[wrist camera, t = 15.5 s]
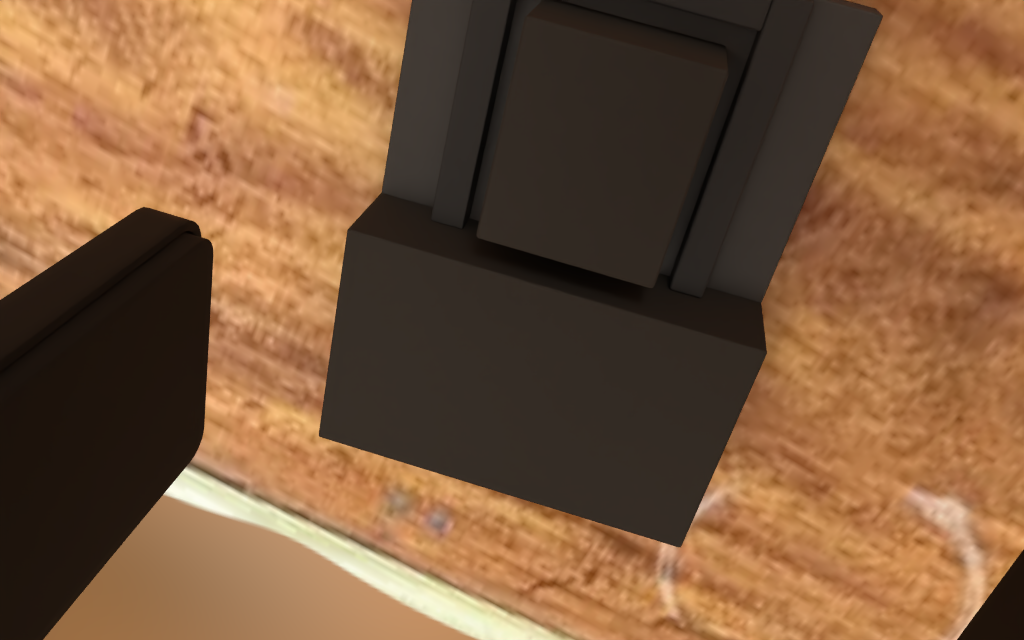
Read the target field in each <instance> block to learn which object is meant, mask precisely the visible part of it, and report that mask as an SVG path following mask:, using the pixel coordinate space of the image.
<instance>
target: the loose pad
mask: <svg viewBox="0 0 1024 640" xmlns="http://www.w3.org/2000/svg"><path fill="white" fill-rule="evenodd" d="M727 77H728V63H727V52H726V47H725V46H724V45H721V44H717V43H714V42H710V41H706V40H703V39H699V38H695V37H692V36H688V35H684V34H681V33H677V32H674V31H670V30H666V29H663V28H659V27H655V26H652V25H648V24H644V23H641V22H637V21H633V20H630V19H626V18H622V17H619V16H615V15H611V14H608V13H604V12H601V11H597V10H593V9H590V8H586V7H582V6H579V5H575V4H571V3H568V2H564V1H560V0H542V1H541V2H540V3H539V4H538V5H537V6H536V7H535V8H534V9H533V10H532V11H531V12H530V13H529V14H528V15H527V16H526V17H525V19H524V23H523V28H522V32H521V37H520V41H519V46H518V50H517V55H516V59H515V64H514V68H513V73H512V77H511V81H510V86H509V90H508V95H507V99H506V104H505V108H504V113H503V117H502V122H501V126H500V131H499V135H498V140H497V144H496V149H495V153H494V158H493V162H492V166H491V171H490V175H489V180H488V184H487V189H486V193H485V198H484V202H483V207H482V211H481V216H480V220H479V225H478V229H477V237H478V238H479V239H483V240H486V241H490V242H493V243H497V244H500V245H503V246H507V247H510V248H514V249H517V250H521V251H524V252H528V253H531V254H534V255H538V256H541V257H545V258H548V259H552V260H555V261H558V262H562V263H565V264H569V265H572V266H576V267H579V268H582V269H586V270H589V271H593V272H596V273H600V274H603V275H606V276H610V277H613V278H617V279H620V280H624V281H627V282H630V283H634V284H637V285H641V286H644V287H648V288H653V287H654V286H655V283H656V281H657V278H658V275H659V272H660V269H661V266H662V263H663V260H664V258H665V255H666V252H667V249H668V246H669V243H670V240H671V238H672V235H673V232H674V229H675V226H676V223H677V220H678V218H679V215H680V212H681V209H682V206H683V203H684V200H685V198H686V195H687V192H688V189H689V186H690V183H691V180H692V178H693V175H694V172H695V169H696V166H697V163H698V160H699V157H700V155H701V152H702V149H703V146H704V143H705V140H706V137H707V135H708V132H709V129H710V126H711V123H712V120H713V117H714V115H715V112H716V109H717V106H718V103H719V100H720V97H721V95H722V92H723V89H724V86H725V83H726V80H727Z"/></svg>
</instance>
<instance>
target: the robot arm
mask: <svg viewBox="0 0 1024 640" xmlns="http://www.w3.org/2000/svg"><path fill="white" fill-rule="evenodd" d="M212 269H213V246H212V243H211V242H210V241H209V240H208V239H205V238H202V237H201V232H200V229H199V226H198V225H197V224H196V223H195V222H194V221H190V220H187V219H184V218H181V217H177V216H174V215H171V214H167V213H164V212H161V211H157V210H154V209H151V208H146V207H143V208H140V209H138V210H136V211H134V212H133V213H131V214H130V215H128V216H127V217H125V218H124V219H122V220H121V221H119V222H118V223H116V224H115V225H113V226H112V227H110V228H109V229H107V230H106V231H104V232H103V233H101V234H100V235H98V236H97V237H95V238H93V239H92V240H90V241H89V242H87V243H86V244H84V245H83V246H81V247H80V248H78V249H77V250H75V251H74V252H72V253H71V254H69V255H68V256H66V257H65V258H63V259H62V260H60V261H59V262H57V263H56V264H54V265H53V266H51V267H50V268H48V269H47V270H45V271H44V272H42V273H41V274H39V275H38V276H36V277H35V278H33V279H32V280H30V281H29V282H27V283H25V284H24V285H22V286H21V287H19V288H18V289H16V290H15V291H13V292H12V293H10V294H9V295H7V296H6V297H4V298H3V299H1V300H0V640H43V639H44V638H45V636H46V635H47V634H48V633H49V632H50V630H51V629H52V628H53V627H54V626H55V624H56V623H57V622H58V621H59V620H60V618H61V617H62V616H63V615H64V613H65V612H66V611H67V610H68V609H69V607H70V606H71V605H72V604H73V603H74V601H75V600H76V599H77V598H78V596H79V595H80V594H81V593H82V592H83V591H84V589H85V588H86V587H87V585H89V583H90V582H91V581H92V580H93V578H94V577H95V576H96V575H97V573H98V572H99V571H100V570H101V569H102V568H103V566H104V565H105V564H106V563H107V561H108V560H109V559H110V558H111V557H112V556H113V554H114V553H115V552H116V551H117V549H118V548H119V547H120V546H121V545H122V543H123V542H124V541H125V540H126V538H127V537H128V536H129V535H130V534H131V532H132V531H133V530H134V529H135V528H136V527H137V525H138V524H139V523H140V521H141V520H142V519H143V518H144V517H145V516H146V514H147V513H148V512H149V511H150V510H151V508H152V507H153V506H154V505H155V504H156V502H157V501H158V500H159V499H160V498H161V496H162V495H163V494H164V493H165V491H166V490H167V489H168V488H169V487H170V485H171V484H172V483H173V482H174V481H175V479H176V478H177V477H178V476H179V475H180V473H181V472H182V471H183V470H184V469H185V467H186V466H187V465H188V464H189V463H190V461H191V460H192V458H193V457H194V456H195V454H196V452H197V450H198V448H199V445H200V443H201V440H202V436H203V431H204V419H205V400H206V381H207V363H208V344H209V325H210V306H211V288H212ZM957 640H1024V550H1023V551H1022V553H1021V554H1020V555H1019V557H1018V558H1017V559H1016V561H1015V562H1014V563H1013V565H1012V566H1011V567H1010V569H1009V570H1008V571H1007V573H1006V574H1005V576H1004V577H1003V578H1002V580H1001V581H1000V582H999V584H998V585H997V586H996V588H995V589H994V590H993V592H992V593H991V594H990V596H989V597H988V599H987V600H986V601H985V603H984V604H983V605H982V607H981V608H980V609H979V611H978V612H977V613H976V615H975V616H974V617H973V619H972V620H971V622H970V623H969V624H968V626H967V627H966V628H965V630H964V631H963V632H962V634H961V635H960V636H959V638H958V639H957Z"/></svg>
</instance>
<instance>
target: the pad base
mask: <svg viewBox="0 0 1024 640" xmlns="http://www.w3.org/2000/svg"><path fill="white" fill-rule="evenodd" d="M541 1H542V0H412V4H411V11H410V17H409V23H408V30H407V36H406V42H405V49H404V55H403V61H402V67H401V74H400V80H399V86H398V93H397V99H396V105H395V112H394V118H393V124H392V131H391V137H390V143H389V149H388V156H387V162H386V168H385V175H384V181H383V187H382V193H381V194H380V195H379V196H378V197H377V198H376V199H375V201H374V202H373V203H372V204H371V205H370V206H369V207H368V208H367V209H366V210H365V211H364V213H363V214H362V215H361V216H360V217H359V218H358V219H357V220H356V221H355V222H354V223H353V225H352V226H351V227H350V228H349V229H348V231H347V238H346V245H345V252H344V259H343V266H342V274H341V281H340V288H339V295H338V302H337V309H336V316H335V323H334V330H333V338H332V345H331V352H330V359H329V366H328V373H327V380H326V387H325V394H324V402H323V409H322V416H321V423H320V430H319V436H320V437H322V438H326V439H329V440H332V441H335V442H339V443H342V444H345V445H348V446H352V447H355V448H358V449H361V450H365V451H368V452H371V453H374V454H378V455H381V456H384V457H387V458H391V459H394V460H397V461H400V462H404V463H407V464H410V465H413V466H417V467H420V468H423V469H426V470H430V471H433V472H436V473H439V474H443V475H446V476H449V477H452V478H456V479H459V480H462V481H465V482H469V483H472V484H475V485H478V486H482V487H485V488H488V489H491V490H495V491H498V492H501V493H504V494H508V495H511V496H514V497H517V498H521V499H524V500H527V501H530V502H534V503H537V504H540V505H543V506H546V507H550V508H553V509H556V510H559V511H563V512H566V513H569V514H572V515H576V516H579V517H582V518H585V519H589V520H592V521H595V522H598V523H602V524H605V525H608V526H611V527H615V528H618V529H621V530H624V531H628V532H631V533H634V534H637V535H641V536H644V537H647V538H650V539H654V540H657V541H660V542H663V543H667V544H670V545H673V546H676V547H681V546H682V543H683V541H684V539H685V537H686V534H687V532H688V530H689V528H690V525H691V523H692V521H693V519H694V516H695V514H696V512H697V510H698V507H699V505H700V503H701V501H702V498H703V496H704V494H705V492H706V489H707V487H708V485H709V482H710V480H711V478H712V476H713V473H714V471H715V469H716V467H717V464H718V462H719V460H720V458H721V455H722V453H723V451H724V449H725V446H726V444H727V442H728V440H729V437H730V435H731V433H732V431H733V428H734V426H735V424H736V422H737V419H738V417H739V415H740V413H741V410H742V408H743V406H744V404H745V401H746V399H747V397H748V395H749V392H750V390H751V388H752V386H753V383H754V381H755V379H756V377H757V374H758V372H759V370H760V368H761V365H762V363H763V361H764V359H765V356H766V354H767V350H766V341H765V332H764V324H763V315H762V307H761V302H762V300H763V298H764V295H765V293H766V290H767V288H768V286H769V283H770V281H771V279H772V276H773V274H774V272H775V269H776V267H777V265H778V262H779V260H780V258H781V255H782V253H783V250H784V248H785V246H786V243H787V241H788V239H789V236H790V234H791V232H792V229H793V227H794V225H795V222H796V220H797V218H798V215H799V213H800V210H801V208H802V206H803V203H804V201H805V199H806V196H807V194H808V192H809V189H810V187H811V185H812V182H813V180H814V177H815V175H816V173H817V170H818V168H819V166H820V163H821V161H822V159H823V156H824V154H825V152H826V149H827V147H828V145H829V142H830V140H831V137H832V135H833V133H834V130H835V128H836V126H837V123H838V121H839V119H840V116H841V114H842V112H843V109H844V107H845V105H846V102H847V100H848V97H849V95H850V93H851V90H852V88H853V86H854V83H855V81H856V79H857V76H858V74H859V72H860V69H861V67H862V65H863V62H864V60H865V57H866V55H867V53H868V50H869V48H870V46H871V43H872V41H873V39H874V36H875V34H876V32H877V29H878V27H879V24H880V22H881V20H882V17H883V16H882V15H881V14H880V13H879V12H878V11H877V10H876V9H875V8H871V7H867V6H864V5H860V4H856V3H853V2H849V1H845V0H560V1H564V2H568V3H571V4H575V5H579V6H582V7H586V8H590V9H593V10H597V11H601V12H604V13H608V14H611V15H615V16H619V17H622V18H626V19H630V20H633V21H637V22H641V23H644V24H648V25H652V26H655V27H659V28H663V29H666V30H670V31H674V32H677V33H681V34H684V35H688V36H692V37H695V38H699V39H703V40H706V41H710V42H714V43H717V44H721V45H724V46H725V47H726V52H727V63H728V77H727V80H726V83H725V86H724V89H723V92H722V95H721V97H720V100H719V103H718V106H717V109H716V112H715V115H714V117H713V120H712V123H711V126H710V129H709V132H708V135H707V137H706V140H705V143H704V146H703V149H702V152H701V155H700V157H699V160H698V163H697V166H696V169H695V172H694V175H693V178H692V180H691V183H690V186H689V189H688V192H687V195H686V198H685V200H684V203H683V206H682V209H681V212H680V215H679V218H678V220H677V223H676V226H675V229H674V232H673V235H672V238H671V240H670V243H669V246H668V249H667V252H666V255H665V258H664V260H663V263H662V266H661V269H660V272H659V275H658V278H657V281H656V283H655V286H654V287H653V288H648V287H644V286H641V285H637V284H634V283H630V282H627V281H624V280H620V279H617V278H613V277H610V276H606V275H603V274H600V273H596V272H593V271H589V270H586V269H582V268H579V267H576V266H572V265H569V264H565V263H562V262H558V261H555V260H552V259H548V258H545V257H541V256H538V255H534V254H531V253H528V252H524V251H521V250H517V249H514V248H510V247H507V246H503V245H500V244H497V243H493V242H490V241H486V240H483V239H479V238H478V237H477V229H478V225H479V220H480V216H481V211H482V207H483V202H484V198H485V193H486V189H487V184H488V180H489V175H490V171H491V166H492V162H493V158H494V153H495V149H496V144H497V140H498V135H499V131H500V126H501V122H502V117H503V113H504V108H505V104H506V99H507V95H508V90H509V86H510V81H511V77H512V73H513V68H514V64H515V59H516V55H517V50H518V46H519V41H520V37H521V32H522V28H523V23H524V19H525V17H526V16H527V15H528V14H529V13H530V12H531V11H532V10H533V9H534V8H535V7H536V6H537V5H538V4H539V3H540V2H541Z"/></svg>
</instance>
